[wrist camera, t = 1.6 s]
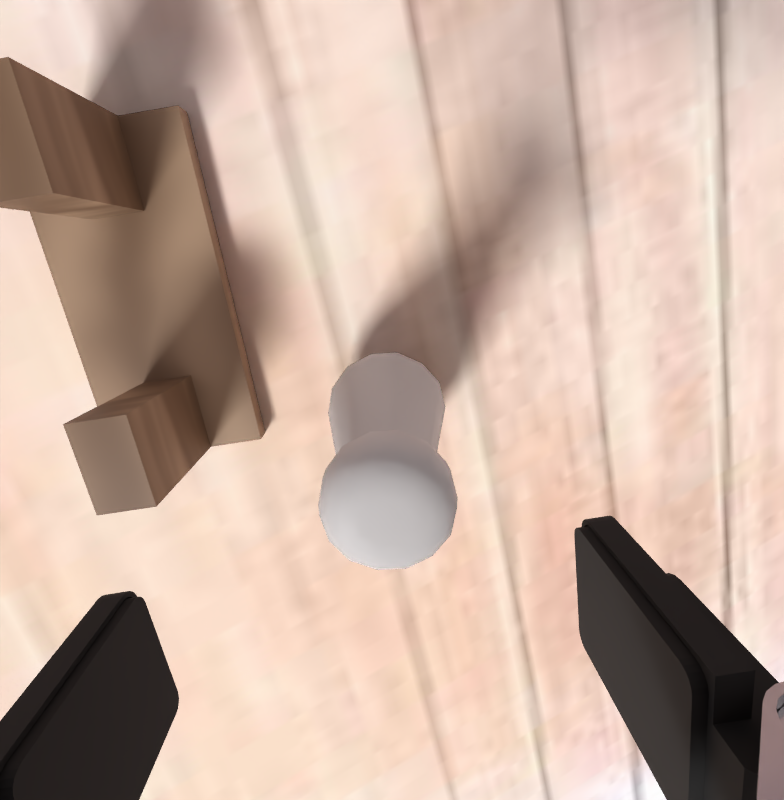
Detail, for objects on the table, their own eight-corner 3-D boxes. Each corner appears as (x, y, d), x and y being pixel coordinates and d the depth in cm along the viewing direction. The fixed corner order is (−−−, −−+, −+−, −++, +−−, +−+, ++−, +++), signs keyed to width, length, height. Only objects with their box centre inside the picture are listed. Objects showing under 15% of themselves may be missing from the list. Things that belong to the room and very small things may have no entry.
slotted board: (186, 112, 22) (92, 42, 15) (265, 432, 27) (222, 496, 20) (19, 140, 22) (-152, 85, 15) (125, 453, 27) (32, 524, 20)
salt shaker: (438, 341, 26) (492, 422, 13) (440, 442, 27) (490, 599, 15) (328, 347, 25) (276, 433, 13) (337, 447, 27) (299, 609, 15)
